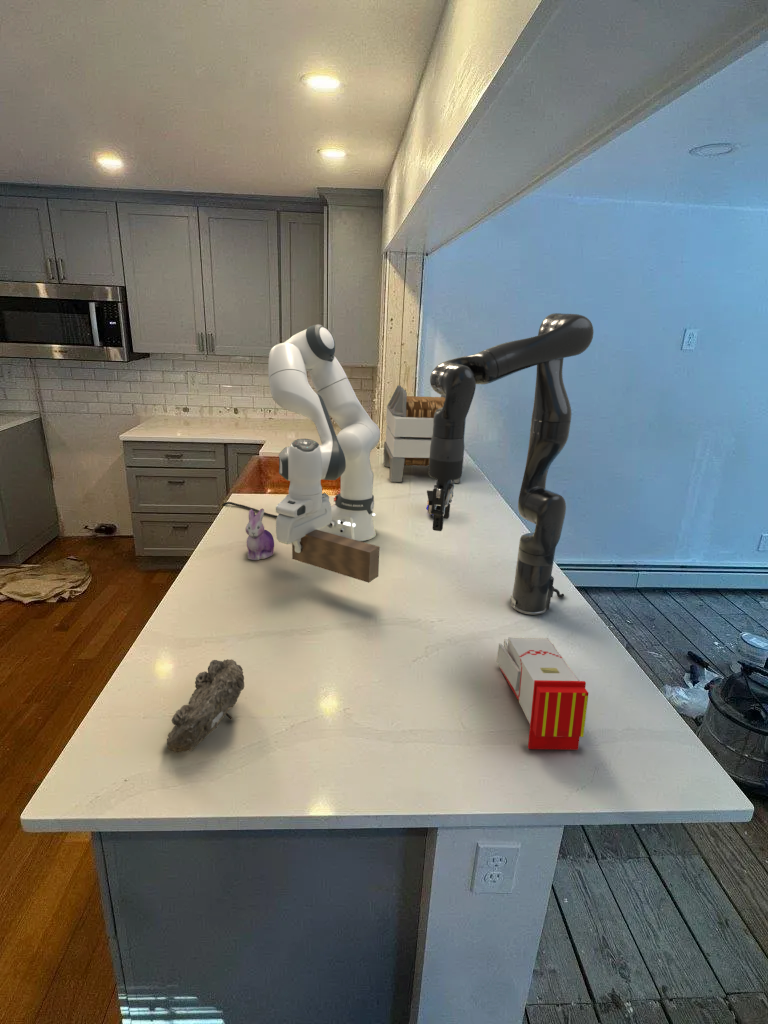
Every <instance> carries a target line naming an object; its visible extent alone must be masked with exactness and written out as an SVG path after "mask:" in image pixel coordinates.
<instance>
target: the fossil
mask: <svg viewBox="0 0 768 1024" xmlns="http://www.w3.org/2000/svg"><path fill="white" fill-rule="evenodd" d="M243 670H244V669H243V667H242V665H240V664H237V662H236V661H235V660H234V659H232V658H231V659H227V658H226V659H224V660H223V661H222V660H217V659H212V660H211V661H210V663H209V665H208V666H207V671H201V672H199V673H198V674H197V675H196V676H195V680H194V684H195V685H194V687H195V689H194V690H193V693H192V694H191V697H190V698H189V700H188V704H184V705H182V706H181V707H180V709H177V710H176V711H175V713H174V715H173V716H172V718H171V723H172V724H173V727H172V730H171V731H170V732H168V734H167V738H166V741H167V742H166V745H167V749H168V750H169V751H173V752H174V753H176V754H178V753H182V752H188V751H189V752H192V751H193V750H195V748H196V747H197V746H199V744H200V743H201V742H203V741H204V740H205V739H206V738H207V737H208V736H209V735H210V734H211V733H212V732H214V730H215V729H217V727H218V726H219V724H220V722H221V721H222V720H223V719H224V718H225V716H226V717H227V719H229V720H233V717H232V715H230V714H229V710H230V709H231V708H234V706H235V704H236V703H237V702H238V699H239V697H240V695H241V693H242V691H243V690H245V689H244V688H245V675H244V671H243Z"/></svg>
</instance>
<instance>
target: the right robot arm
mask: <svg viewBox="0 0 768 1024" xmlns="http://www.w3.org/2000/svg"><path fill="white" fill-rule="evenodd" d="M594 332H595V331H594V326H593V323H592V321H591V320H590V319H589V318H588V317H587V316H585V315H582V314H578V313H564V312H563V313H562V312H561V313H560V312H558V313H557V312H556V313H555V312H554V313H550V314H548V315H546V317H545V318H544V319H543V320H542V321H541V323H540V325H539V329H538V333H537V335H535V336H530V337H527V338H521V339H516V340H511V341H507V342H502V343H500V344H496V345H494V346H492V347H489V348H486V349H484V350H481V351H478V352H477V353H474V354H470V355H464V356H461V357H456V358H451V359H448V360H445V361H443V362H440V363H439V364H438V365H436V366H435V367H434V369H432V371H431V374H430V377H429V384H430V386H431V388H432V390H433V391H434V392H435V393H437V394H439V395H440V396H441V395H444V396H446V398H445V402H444V406H443V408H439V409H437V410H436V411H435V414H434V419H433V433H432V440H431V445H430V457H429V465H428V472H427V473H428V476H429V477H430V478H432V479H435V480H436V482H435V484H434V485H433V489H432V491H433V499H432V510H431V514H433V515H432V516H433V518H432V530H433V531H435V532H442V531H443V529H444V520H448V519H449V518H450V512H451V503H452V502H453V498H454V489H455V483H454V480H457V479H460V480H461V478H462V477H463V468H464V467H463V466H464V458H465V457H464V455H465V435H466V419H467V416H468V414H469V411H470V409H471V405H472V402H473V399H474V397H475V394H476V389H477V385H488V384H492V383H494V382H496V381H499V380H502V379H503V378H506V377H508V376H511V375H513V374H516V373H519V372H521V371H523V370H526V369H529V368H532V367H535V366H536V378H535V386H534V387H535V389H534V397H533V398H534V399H533V407H532V408H533V409H532V413H531V419H530V420H531V421H530V429H529V431H530V432H529V440H528V441H529V442H528V448H527V454H526V461H525V467H524V468H525V469H524V473H523V476H522V481H521V486H520V491H519V495H518V501H517V510H518V514H519V516H520V517H521V518H523V519H524V520H526V521H528V522H530V523H531V524H534V525H535V527H534V532H527V533H524V534H522V535H521V536H520V538H519V543H518V552H517V560H516V566H515V574H514V580H513V581H514V582H513V588H512V595H510V606H511V607H512V609H513V610H515V611H516V612H519V613H521V614H524V615H530V616H538V615H542V614H544V613H546V612H547V611H549V610H550V608H551V607H550V606H551V599H552V598H553V596H554V593H555V594H556V596H557V598H564V597H565V594H564V593H561V592H560V591H559V589H557V588H556V587H555V586H554V583H555V582H554V581H555V577H554V576H553V575H552V574H553V568H554V560H555V554H556V549H557V546H558V544H559V542H560V539H561V536H562V531H563V526H564V523H565V517H566V511H567V502H566V499H565V498H564V497H563V495H561V494H559V493H557V492H555V491H551V490H549V489H546V485H547V477H548V472H549V469H550V468H551V465H552V463H553V462H554V460H555V459H556V458H557V457H558V456H559V454H561V452H562V450H564V448H565V446H566V445H567V442H568V441H569V435H570V431H571V430H570V429H571V423H572V406H571V402H570V399H569V397H568V392H567V389H566V386H565V383H564V378H563V377H564V376H563V369H564V359H565V358H569V357H570V358H571V357H576V356H579V355H581V354H582V353H585V351H586V350H588V348H590V346H591V343H592V341H593V339H594ZM437 506H440V510H437V509H436V508H437Z"/></svg>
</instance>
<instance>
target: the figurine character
mask: <svg viewBox="0 0 768 1024" xmlns="http://www.w3.org/2000/svg"><path fill="white" fill-rule="evenodd" d="M426 495H427V502H426V511H427V513H428V515H430V518H432V519H433V514H431V510H432V499H433V490H427V489H426ZM436 509H437V510H440V506H437V508H436Z"/></svg>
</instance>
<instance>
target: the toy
mask: <svg viewBox="0 0 768 1024" xmlns="http://www.w3.org/2000/svg"><path fill="white" fill-rule="evenodd" d="M496 664H497V665H498V666H499V669H500V672H501V673H502V675H503V677H504V678H505V680H506V682H507V683H508V685H509V687H510V689H511V690H512V692H513V694H514V696H515V698H516V700H517V701H518V704H519V705H520V707H521V709H522V711H523V713H524V715H525V718H526V719H527V722H528V723H529V731H528V732H529V734H528V742H527V743H528V744H527V748H528V750H568V751H569V750H571V751H572V750H573V751H574V750H576V751H578V750H579V745H580V738H584V735H585V727H586V719H587V709H588V703H589V702H588V701H589V692H588V690H587V689H586V686H587V682H586V681H585V680H580V679H579V677H578V676H577V675H576V673H575V672H574V670H572V668H571V667H570V666H569V664H568V663H567V662H566V660H565V659H564V657H563V656H562V655H561V653H560V651H558V649H557V648H556V646H555V644H554V643H552V641H551V640H550V638H549V637H508V638H504V639H503V644H502V643H498V648H497V654H496Z"/></svg>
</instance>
